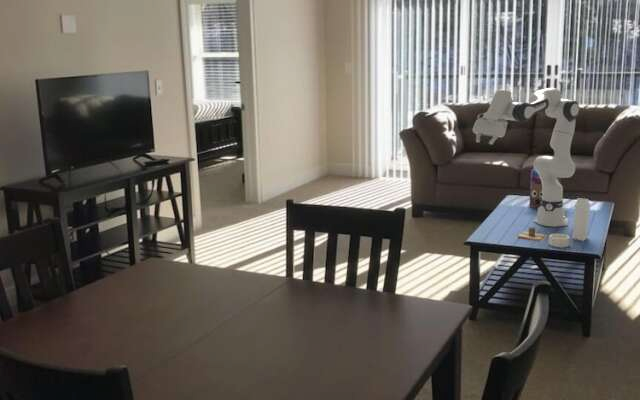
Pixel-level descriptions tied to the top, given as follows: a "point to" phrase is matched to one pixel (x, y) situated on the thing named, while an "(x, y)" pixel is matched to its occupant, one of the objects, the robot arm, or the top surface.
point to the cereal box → (536, 189)
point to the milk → (581, 219)
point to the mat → (534, 240)
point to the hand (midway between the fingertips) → (483, 143)
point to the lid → (531, 235)
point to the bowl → (559, 240)
